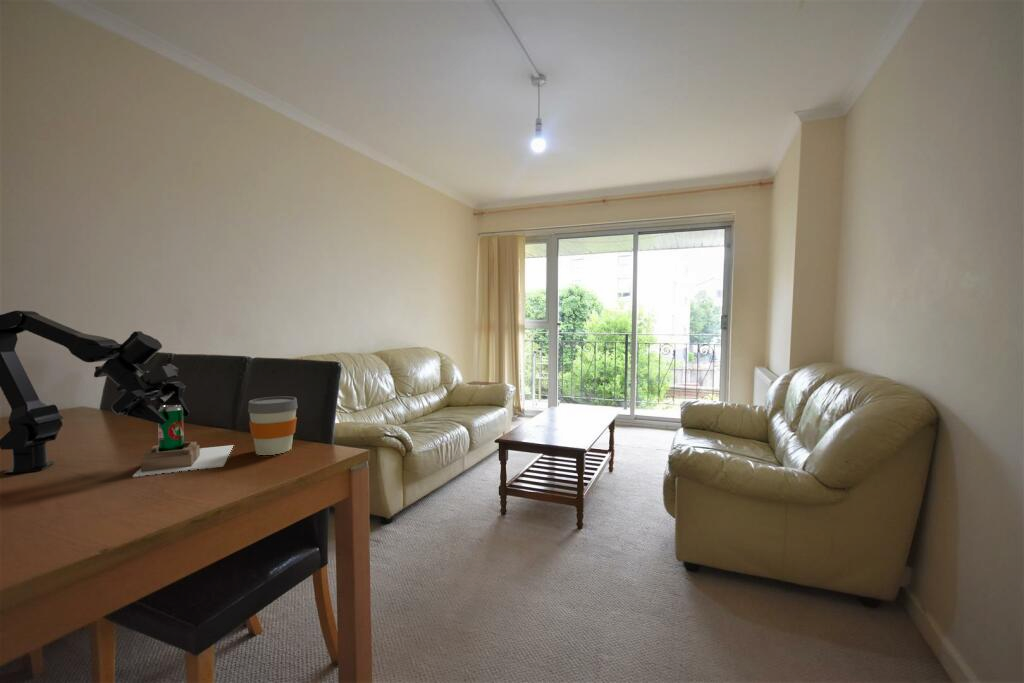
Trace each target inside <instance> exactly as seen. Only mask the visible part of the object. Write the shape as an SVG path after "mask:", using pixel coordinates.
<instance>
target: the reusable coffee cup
mask: <svg viewBox="0 0 1024 683" xmlns="http://www.w3.org/2000/svg"><path fill="white" fill-rule="evenodd" d="M297 409H298V399H297V397H295V396H286V395H285V396H267V397H259V398H254V399H251V400H249V401H248V408H247V412H248V413H249V421H248V424H249V429H250V435H251V438H252V439H253V443H254V450H255V454H256V455H257V454H258V455H257V456H259V455H274V456H276V455H275V454H280V453H284V452H286V451H289V450H290V449H291V450H292V447H293V438H294V434H295V433H296V428H297V421H298V420H297V419H298V417H297V416H296V415H297ZM289 452H290V451H289ZM284 454H285V453H284ZM280 455H281V454H280Z"/></svg>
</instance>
